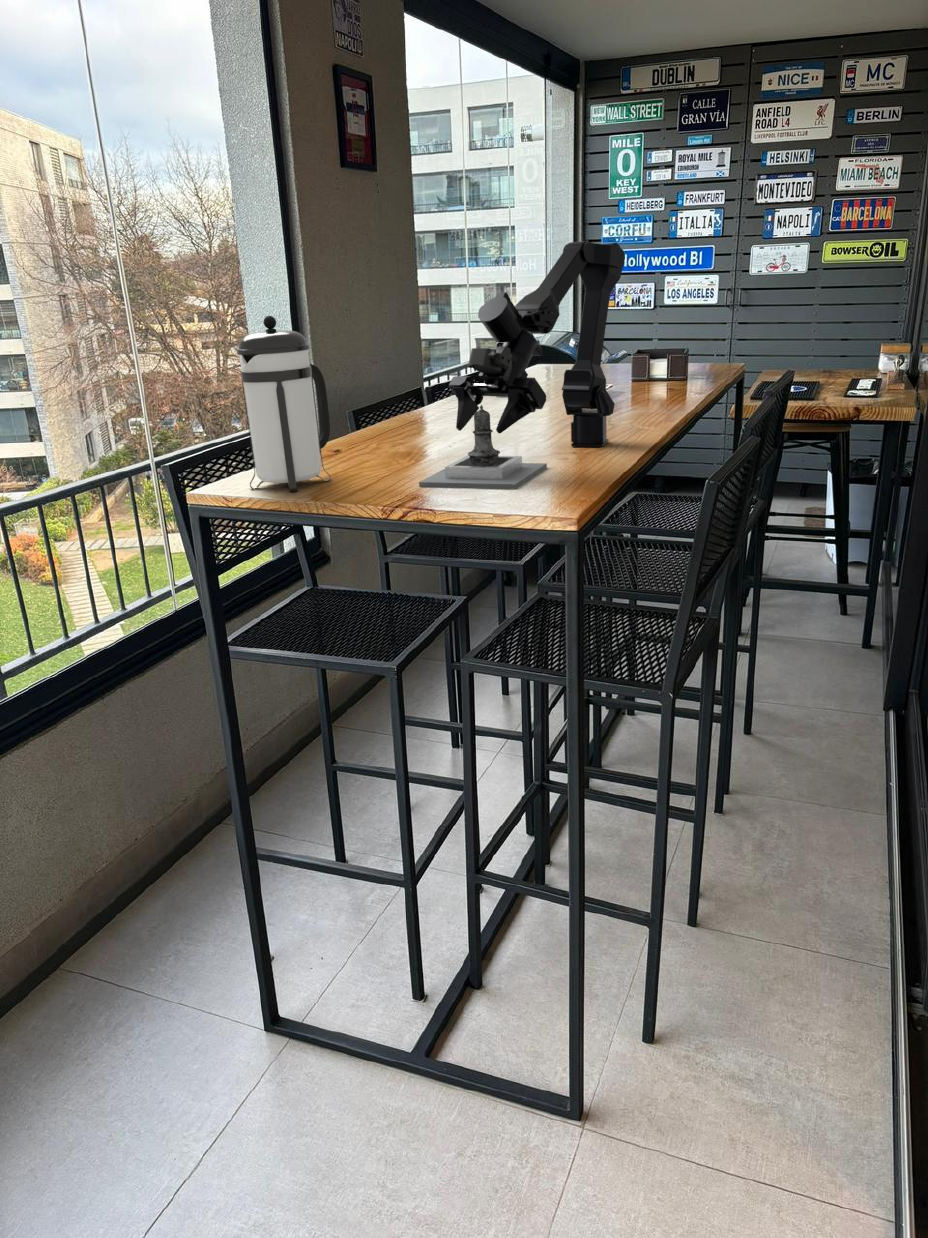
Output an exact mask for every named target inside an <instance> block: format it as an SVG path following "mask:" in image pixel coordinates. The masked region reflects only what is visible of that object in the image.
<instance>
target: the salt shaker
mask: <svg viewBox="0 0 928 1238" xmlns="http://www.w3.org/2000/svg"><path fill="white" fill-rule="evenodd" d="M473 423H474V424H473V427H474V430H472V434H474V447H473V449H472V450H471V451H469V452H468V453H467V456H470V461H471V463H472V464H473V465H474V466H493V465H495V463H496V462H497V460H498V456H499V454H500V453H501V451H500V450H499V449H496V448H494V446H493V442H492V439H493V438H492V433H493V432H494V430H493V429H491V414H490V412H489V411H488V410H485V409H484V406H483V405H482V404H481V405H480V406H479V409H478V411H477V412H476V413H475V414H474V415H473Z"/></svg>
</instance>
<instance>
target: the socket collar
mask: <svg viewBox="0 0 928 1238" xmlns="http://www.w3.org/2000/svg"><path fill="white" fill-rule="evenodd" d="M522 463H523V456H522V455H498V460H497V462H496V463H495V465H493V466H474V465H473V464H472V463H471V461H470V456H469V455H465V456H464V457H462V458H460V459H457V460H455V461H454V462H452V463H450V464H448V465H446V466H444V469H445V478H461V479H504V478H505V477H507V476H509V475H510V474H512V473H513V472H515V471H517V470H518V469H520V468H521V467H522Z"/></svg>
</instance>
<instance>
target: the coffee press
mask: <svg viewBox="0 0 928 1238" xmlns="http://www.w3.org/2000/svg"><path fill="white" fill-rule="evenodd" d="M262 322H263V325H264V327H265V328H266V329H265V331H260V332H253V333H252V332H251V333H249V334H247V335H244V336H243V337H242V338H241V339H240V340H239V343H238V348H236V349H235V350H236V355H237V356H238V357H239V362H240V369H241V370H240V378H241V386H242V391H243V399H244V405H245V412H246V413H245V414H246V420H247V427H248V428H247V429H248V434H249V439H250V440H249V442H250V450H251V455H252V464H253V469H254V471H253V472H254V473H253V476H252V478H251V480H250V481H249V487H250V489H251V488H252V487H253V486H252V483H253V481H254V479H255V477H256V476H257V478H258V479H259V480H260V482H259V483H258V484H257V486H256V487H257V489H259V487H260V486H261V485H262V484H263V483H269V484H272V483H273V484H285V483H287V485H288V491H289V493H296V492H298V488H297V482H303V481H306V480H307V481H308V480H311V479H313V478H316V477H318V478H319V479H321V480H322V481H324V482H330V480H331V474H330V473H329V472H328V471H327V470H326V469H325V468H324V464H323V456H322V449H323V448H325V447H326V445H327V444H328V441H329V439H330V433H331V423H330V422H331V421H330V413H329V411H330V410H329V403H328V395H327V388H326V383H325V378H324V376H323V373H322V371H321V370H320V369H319V367H318V366H317V365H315V364H312V363H310V356H309V355H310V354H309V352H310V348H311V347H310V343H308V342H307V339H306V338H305V336H304V335H303V334H301V332H298V331H295V330H277V329H276V328H275V327H276V325H277V323H278V321H277V320H276V318H275V317H274V316H272V315H267V316H265V317H264V318H263V321H262ZM314 385H315V387H314ZM315 392H316V397H315ZM316 399H317V403H316ZM316 404H317V405H316ZM317 407H318V413H317ZM318 417H319V421H318ZM318 422H319V423H318ZM319 426H320V430H319ZM322 469H323V470H324V472H325V473H326V474H327V475H328V478H327V479H325V478H323V477H322V476H320V475H319V474H320V473H321V471H322Z"/></svg>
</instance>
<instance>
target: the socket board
mask: <svg viewBox="0 0 928 1238" xmlns="http://www.w3.org/2000/svg"><path fill="white" fill-rule="evenodd" d="M547 467H548V465H547V463H546V462H545V463H542V462H541V463H540V462H537V463H535V462H522V467H521V468H520V469H518V470H517V471H515V472H513V473H512V474H510V475H509V476H507V477H505V478H504V479H461V478H445V468H444V469H441V470H439V471H438V472H436V473H434V474H432V475H430V476H428V477H426V478H424V479H422V480H420V481H418V486H419V487H421V488H422V487H425V488H427V487H428V488H429V487H431V488H458V489H459V488H464V489H466V488H467V489H495V490H497V489H499V490H500V489H502V490H505V489H506V490H516V489H517V488H519V487H521V486H522V485H524V484H525V483H526V482H528V481H530V480H531V479H532V478H534V477H535V476H537V475H538V474H540V473H541V472H543V471H544V470H546V469H547Z"/></svg>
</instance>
